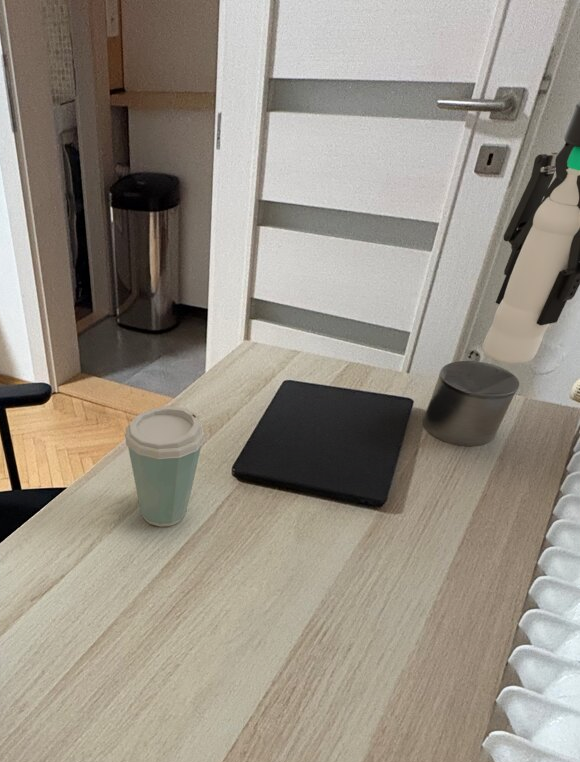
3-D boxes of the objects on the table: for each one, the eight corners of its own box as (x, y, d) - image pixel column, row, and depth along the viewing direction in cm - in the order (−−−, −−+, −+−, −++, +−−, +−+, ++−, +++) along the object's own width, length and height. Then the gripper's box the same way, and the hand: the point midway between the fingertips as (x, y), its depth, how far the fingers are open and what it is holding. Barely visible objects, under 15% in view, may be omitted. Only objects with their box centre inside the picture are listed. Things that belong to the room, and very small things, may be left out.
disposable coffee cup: (140, 543, 86) (139, 451, 76) (116, 499, 93) (113, 409, 83) (210, 526, 89) (219, 434, 78) (181, 484, 96) (186, 395, 85)
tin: (488, 412, 108) (510, 363, 102) (502, 449, 101) (527, 398, 94) (418, 406, 110) (435, 358, 104) (426, 442, 102) (445, 392, 96)
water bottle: (544, 362, 88) (647, 148, 69) (498, 368, 87) (591, 153, 69) (514, 341, 92) (603, 136, 74) (470, 346, 92) (550, 140, 73)
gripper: (522, 90, 74) (454, 291, 91) (671, 118, 61) (560, 346, 78) (571, 85, 76) (495, 283, 93) (727, 112, 63) (606, 336, 80)
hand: (525, 311), depth 85 cm, fingers closed on water bottle, 7 cm apart
